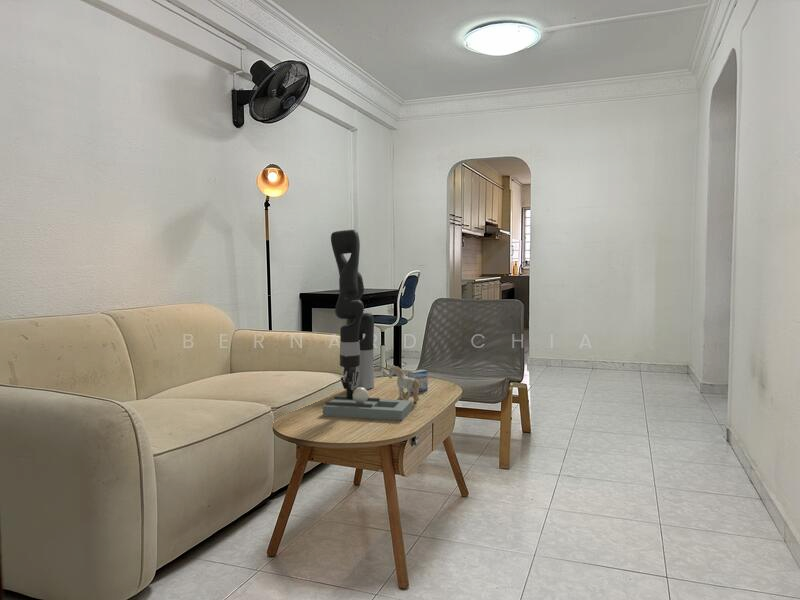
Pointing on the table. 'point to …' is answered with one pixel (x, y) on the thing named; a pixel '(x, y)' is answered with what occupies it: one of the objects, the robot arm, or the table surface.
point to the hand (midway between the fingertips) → (350, 399)
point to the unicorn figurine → (404, 383)
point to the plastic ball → (360, 395)
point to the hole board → (368, 408)
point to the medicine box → (420, 378)
